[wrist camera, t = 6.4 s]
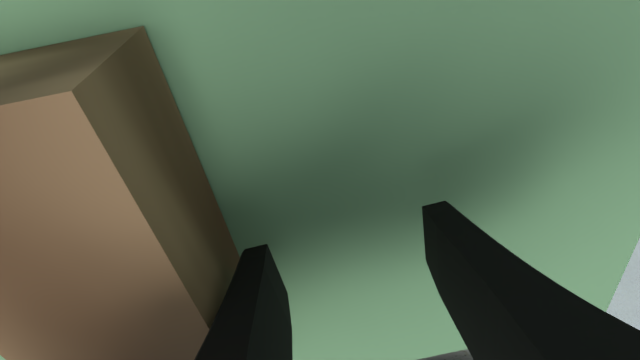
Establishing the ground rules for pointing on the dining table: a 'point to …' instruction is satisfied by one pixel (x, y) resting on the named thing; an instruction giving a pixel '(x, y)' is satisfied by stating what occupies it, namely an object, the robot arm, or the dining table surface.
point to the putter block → (103, 208)
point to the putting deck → (395, 141)
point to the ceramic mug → (452, 356)
